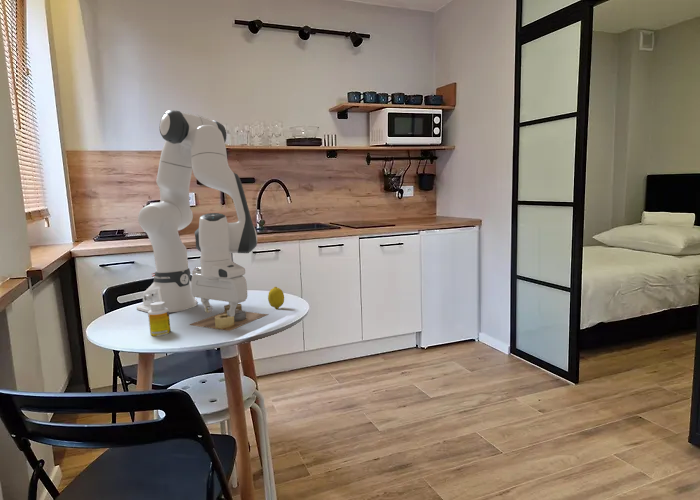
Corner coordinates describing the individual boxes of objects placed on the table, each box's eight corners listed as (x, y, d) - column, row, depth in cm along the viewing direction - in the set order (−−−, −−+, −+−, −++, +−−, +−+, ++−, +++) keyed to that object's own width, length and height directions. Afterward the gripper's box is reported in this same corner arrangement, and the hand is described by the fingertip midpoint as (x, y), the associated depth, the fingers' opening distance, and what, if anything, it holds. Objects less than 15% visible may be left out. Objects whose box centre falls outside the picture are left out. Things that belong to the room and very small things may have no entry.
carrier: (188, 328, 141) (187, 315, 141) (230, 313, 157) (228, 301, 156) (229, 334, 133) (228, 320, 133) (269, 317, 149) (268, 305, 148)
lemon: (281, 311, 156) (280, 288, 155) (266, 311, 157) (264, 288, 156) (287, 307, 162) (285, 284, 161) (272, 307, 163) (270, 285, 162)
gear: (211, 327, 137) (210, 318, 136) (225, 322, 141) (224, 313, 141) (225, 329, 134) (224, 319, 134) (238, 324, 139) (237, 314, 138)
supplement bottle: (172, 337, 133) (169, 303, 132) (152, 341, 131) (148, 306, 129) (169, 332, 138) (165, 299, 137) (149, 336, 135) (145, 302, 134)
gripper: (184, 268, 138) (187, 312, 139) (233, 272, 127) (236, 321, 129) (200, 264, 143) (203, 307, 145) (249, 269, 133) (252, 315, 134)
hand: (219, 314), depth 137 cm, fingers open, 8 cm apart
